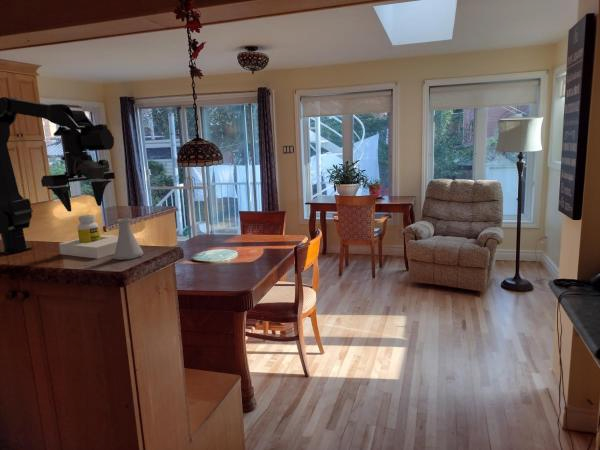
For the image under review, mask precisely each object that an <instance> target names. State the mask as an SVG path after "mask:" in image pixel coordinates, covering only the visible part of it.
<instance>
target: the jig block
mask: <svg viewBox="0 0 600 450" xmlns="http://www.w3.org/2000/svg"><path fill="white" fill-rule="evenodd" d="M99 234H100V233H99ZM118 236H119V235H109V234H100V240H98V241H94V242H90V243H80V242H79V238H76V239H73V240H67V241H65V242H60V243H58V245H59V250H60V255H65V256H74V257H82V258H90V259H96V260H98V259H101V258H105V257H108V256H111V255H114V253H115V249H116V245H117V241H118Z"/></svg>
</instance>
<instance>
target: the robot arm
mask: <svg viewBox="0 0 600 450" xmlns="http://www.w3.org/2000/svg"><path fill="white" fill-rule="evenodd" d="M18 114H19V115H23V116H29V117H35V118H41V119H45V120H47V121H49V122H50V123H52V124H55V125H57V126H58V127H57V129H56V131H54V133H53V136H54V137H60V138H61V141H62V142H61V143H62V149H63V153H64V156H62V157H61V159H62V160H61V161H65V165H66V171H64V174H49V175H42V178H41V187H42V188H43V187H46V188H47V190H51V192H53V194H54V195H55V196H56V197H57V198H58V200H59V202H60V203H61V204H62V205H63V207H64V208H65V210H66V211H67V212H72V202H71V199H70V192H69V191H70V189H71V185H68V183H74V182H75V183H76V182H82V181H89V180H93V181H90V185H91V188H92V192H93V196H94V201H95V203H96V205H97V207H100V206H102V203H103V198H104V193H105V190H106V187H107V186H108V184H110V183H111V182H112V181H113V180H114V179H115V180H116V176H115V174H116V173H115V171H114V170H113V169H111V168H110V163H109V161H108V160H107V159H98V161H95V160H93V157H92V155H91V154H89V153H88V151H89V152H94V151H109V150H112V149H113V148H114V144H115V137H114V136H113V134H112V132H111V130H110V129H108V125H107V124H106V123H101V124H96V125H95V124H94V123H93V122H92V120H91V119H90V118H89V117H88V116H87V115H86V112H85V110H84V109H83V107H82V106H80V105H77V104H65V103H52V104H45V103H41V102H35V101H30V100H29V101H28V100H23V99H18V98H16V97H7V96H1V97H0V239H1V244H2V249H1V250H0V254H8V255H12V254H15V253H20V252H24V251H28V250H32V249H33V247H32V246H27V244H26V238H25V237H26V236H25V234H24V229H28V228H30V224H31V219H32V217H33V215H32V214H33V212H34V210H33V208H32V206H31V200H30V198H24V197H23V196H22V195H21V194H20V191H19V188H18V183H17V180H16V179H17V178H16V176H15V171H14V168H13V164H12V159H11V156H10V151H9V147H8V143H9V140H10V137H11V129H10V128H11V126H12V125H13V124H14V123H15V122H16V119H17V116H18ZM79 130H80V131H79Z"/></svg>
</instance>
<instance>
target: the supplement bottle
mask: <svg viewBox="0 0 600 450" xmlns="http://www.w3.org/2000/svg"><path fill="white" fill-rule="evenodd" d="M78 221H79V224H78V225H77V235H78V239H79V242H80V243H90V242H94V241H98V240H100V227H99V224H98V223H97V222H95V221H96V218H95V215H94V214H89V215H82V216H81V215H80V216H78Z"/></svg>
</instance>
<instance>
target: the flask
mask: <svg viewBox="0 0 600 450" xmlns="http://www.w3.org/2000/svg"><path fill="white" fill-rule="evenodd" d="M116 223H117V224H118V235H117V236H118V241H117V245H116V249H115V253H114V254H113V260H119V261H122V260H123V261H124V260H132V259H133V260H134V259H135V258H139V257H142V256H143V255H144V251H143V249H142V247H141V245H140V244H139V243H138V241H137V239H136V237H135V235H134V233H133V230H132V226H131V218H128V217H127V218H126V217H125V218H120V219H117V220H116Z"/></svg>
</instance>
